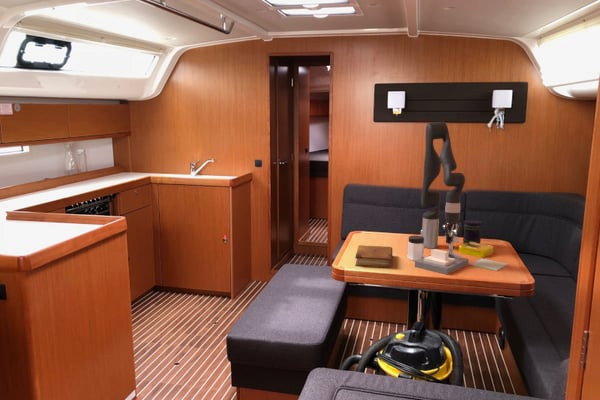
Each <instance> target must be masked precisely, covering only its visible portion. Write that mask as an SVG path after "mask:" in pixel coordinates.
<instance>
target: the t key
mask: <svg viewBox="0 0 600 400" xmlns="http://www.w3.org/2000/svg"><path fill="white" fill-rule="evenodd" d="M448 234H449V232H448ZM450 237H451V240H450V244H448V255H449V256H452V255H453V256H454V257H456V258H462V257H461V255H459V253H456V252H454V248H453V247H454V243H458V242H459V237H458V236H457V235H456V236H455V235H453V234H452V233H451V236H450ZM444 238H445V239H446V236H445V235H444Z"/></svg>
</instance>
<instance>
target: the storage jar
mask: <svg viewBox="0 0 600 400" xmlns="http://www.w3.org/2000/svg"><path fill="white" fill-rule="evenodd" d="M463 222H464V223H463V239H462V241H463V242H462V243H463V244H465V243H467V242H476V243H480V244H481V240H482V239H481V232H482V221H481V220H479V219H478V220H477V219H465V220H464V221H463Z"/></svg>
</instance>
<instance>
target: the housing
mask: <svg viewBox="0 0 600 400" xmlns="http://www.w3.org/2000/svg"><path fill="white" fill-rule="evenodd" d="M428 256H431V254H430V255H428ZM428 256H424V258H426V257H428ZM424 258H422V259H419V260H417V261H414V267H415V268H418V269H422V270H425V271H426V270H427V271H431V272H434V273H439V274H443V275H446V276H447V275H450V274H452V273H454V272H456V271H458V270H460V269H462V268H464V267H466V266H469V261H470V258H465V257H461V258H456V257H454V256H453V255H452V256H449V255H448V258H453V259H455V262H453V263H451V264H448V265H446V266H443V265H439V264H435V263H430V262H426V261H424Z"/></svg>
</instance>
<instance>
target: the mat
mask: <svg viewBox="0 0 600 400" xmlns="http://www.w3.org/2000/svg"><path fill="white" fill-rule="evenodd" d="M469 266H471V267H475V268H479V269H480V268H481V269H486V270H491V271H496V272H498V271H500V270H501V269H503V268H505V267H507V266H508V263H505V262H500V261H495V260H492V259H490V260H489V259H486V258H485V259H484V258H480V259H478V260H476V261H474V262H471V263H469Z"/></svg>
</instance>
